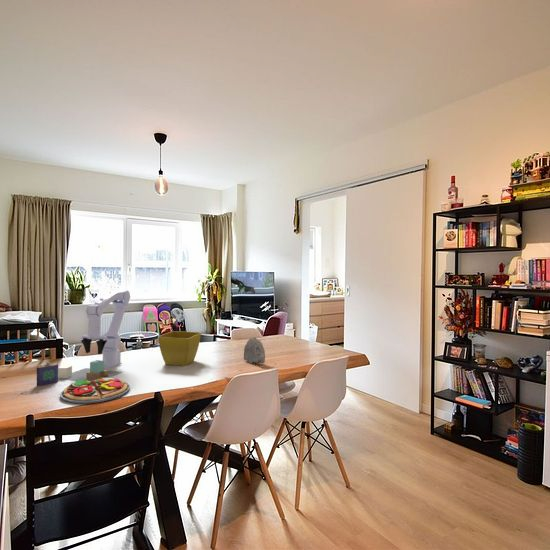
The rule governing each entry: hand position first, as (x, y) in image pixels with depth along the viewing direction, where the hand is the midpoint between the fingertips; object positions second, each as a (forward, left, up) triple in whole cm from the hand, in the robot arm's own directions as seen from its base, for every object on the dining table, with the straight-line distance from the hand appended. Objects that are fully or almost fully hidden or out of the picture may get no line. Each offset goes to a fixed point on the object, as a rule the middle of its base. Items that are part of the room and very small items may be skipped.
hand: (93, 353), depth 190 cm
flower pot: (-33, +32, -11) cm, 47 cm away
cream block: (+10, -8, -10) cm, 17 cm away
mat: (+4, +2, -10) cm, 11 cm away
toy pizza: (+24, +23, -11) cm, 35 cm away
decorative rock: (-46, +74, -11) cm, 87 cm away
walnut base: (+6, +8, -10) cm, 14 cm away
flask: (+21, -7, -11) cm, 25 cm away
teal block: (+7, +8, -7) cm, 13 cm away
